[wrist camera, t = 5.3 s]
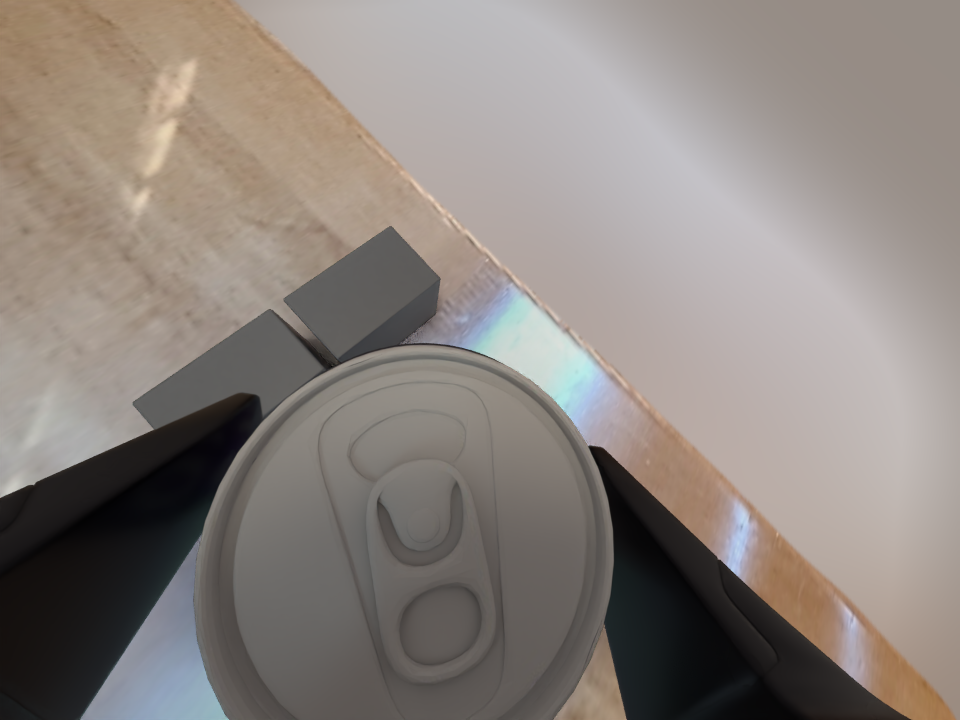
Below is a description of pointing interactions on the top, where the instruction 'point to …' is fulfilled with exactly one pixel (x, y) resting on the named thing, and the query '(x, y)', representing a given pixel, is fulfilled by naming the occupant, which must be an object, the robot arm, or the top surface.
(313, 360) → the grey blocks
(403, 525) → the beverage can
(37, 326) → the top surface
